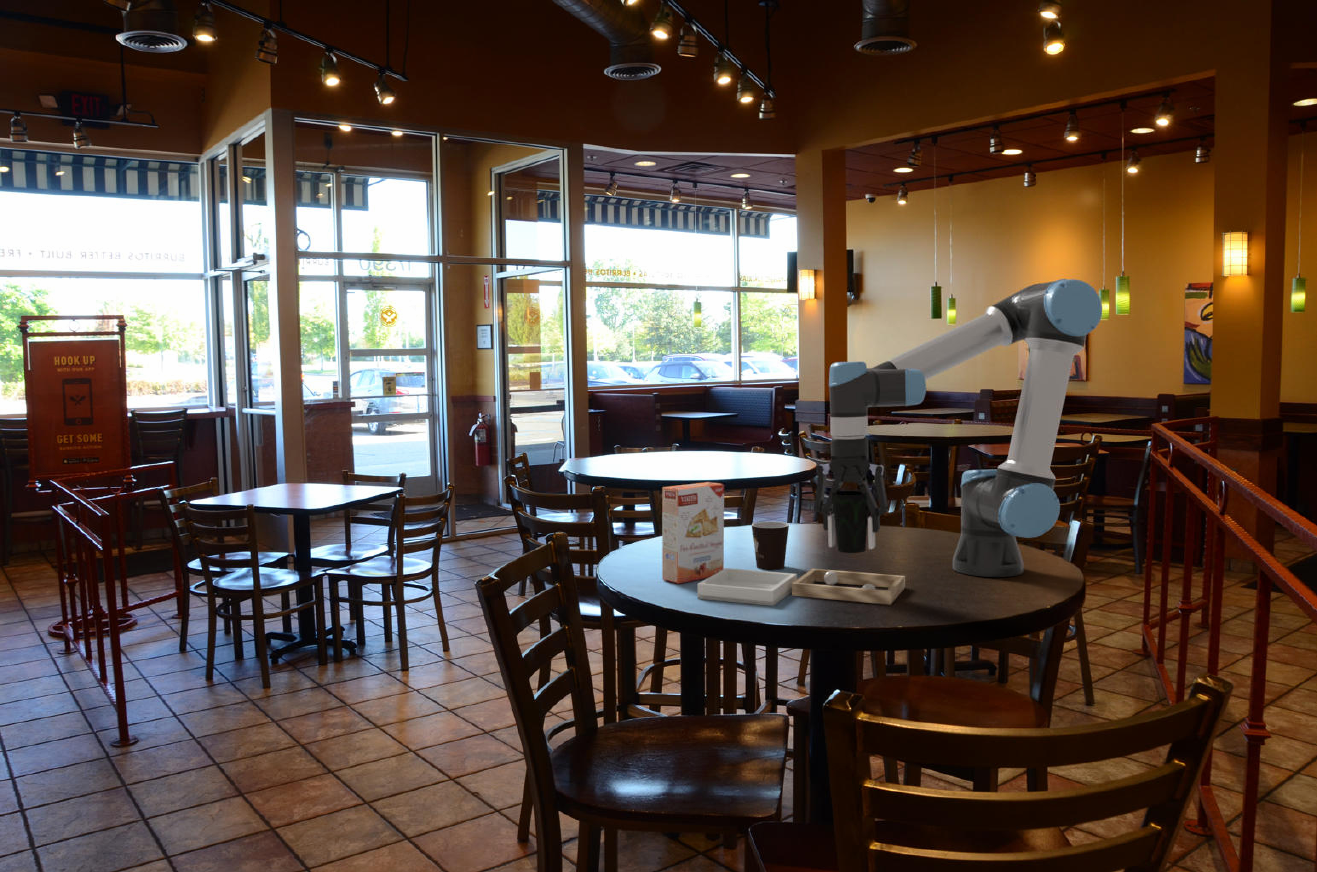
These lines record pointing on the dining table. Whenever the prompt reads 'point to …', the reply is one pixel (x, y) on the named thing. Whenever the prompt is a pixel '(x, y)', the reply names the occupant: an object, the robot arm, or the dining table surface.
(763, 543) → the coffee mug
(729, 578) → the bin
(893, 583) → the frame
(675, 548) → the cracker box
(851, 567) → the dining table surface
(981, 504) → the robot arm
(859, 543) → the cup
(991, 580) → the dining table surface
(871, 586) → the pebble
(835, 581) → the pebble
